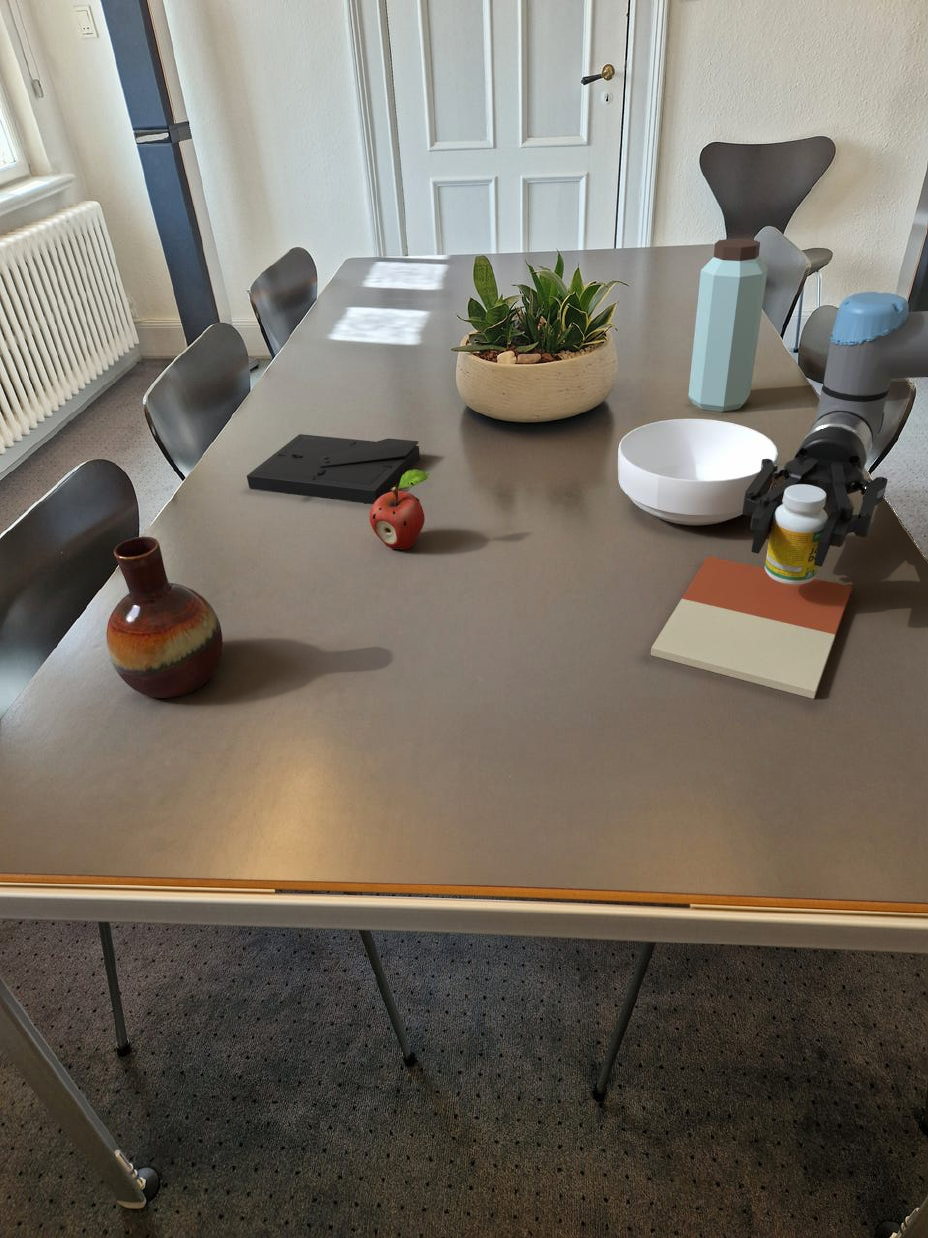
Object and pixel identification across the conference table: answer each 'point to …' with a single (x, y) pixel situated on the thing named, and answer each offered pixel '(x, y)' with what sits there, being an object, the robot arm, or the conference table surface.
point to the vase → (160, 627)
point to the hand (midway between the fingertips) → (788, 547)
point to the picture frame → (336, 467)
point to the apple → (399, 513)
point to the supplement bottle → (796, 535)
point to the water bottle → (727, 325)
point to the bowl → (691, 468)
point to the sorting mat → (755, 626)
